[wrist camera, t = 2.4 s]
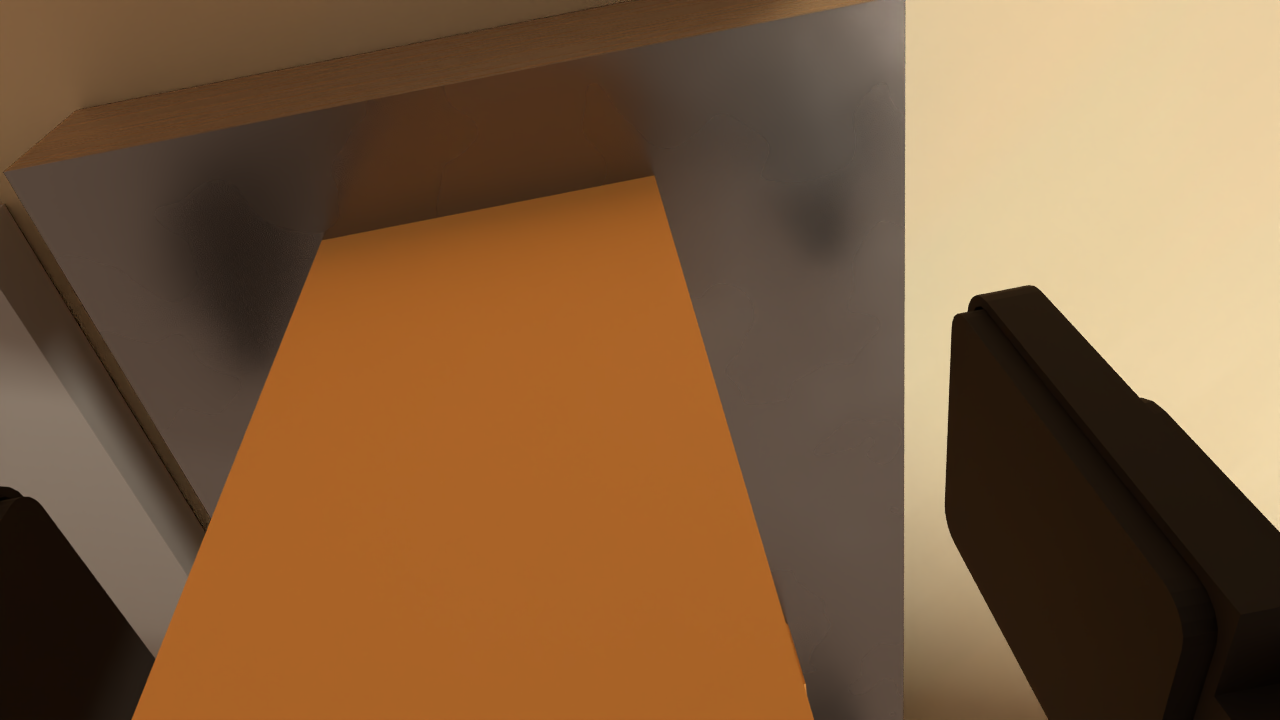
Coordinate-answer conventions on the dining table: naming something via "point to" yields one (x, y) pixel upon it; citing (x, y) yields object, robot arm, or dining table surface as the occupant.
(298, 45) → the dining table surface
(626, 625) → the orange block with loop
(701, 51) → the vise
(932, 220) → the dining table surface
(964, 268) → the dining table surface
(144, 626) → the rubber mat
